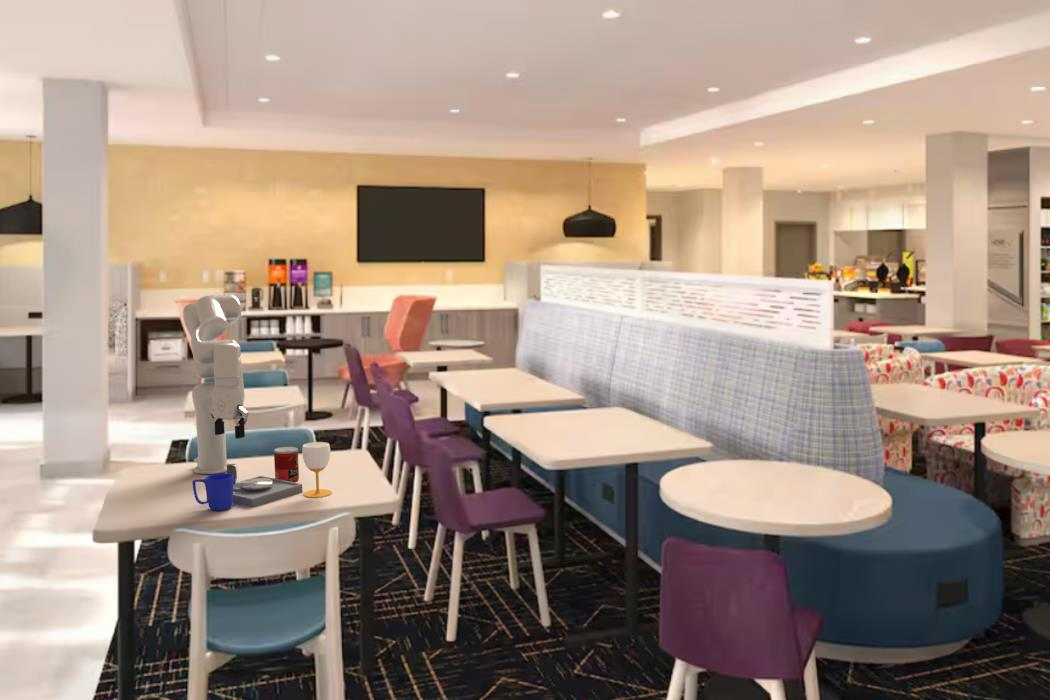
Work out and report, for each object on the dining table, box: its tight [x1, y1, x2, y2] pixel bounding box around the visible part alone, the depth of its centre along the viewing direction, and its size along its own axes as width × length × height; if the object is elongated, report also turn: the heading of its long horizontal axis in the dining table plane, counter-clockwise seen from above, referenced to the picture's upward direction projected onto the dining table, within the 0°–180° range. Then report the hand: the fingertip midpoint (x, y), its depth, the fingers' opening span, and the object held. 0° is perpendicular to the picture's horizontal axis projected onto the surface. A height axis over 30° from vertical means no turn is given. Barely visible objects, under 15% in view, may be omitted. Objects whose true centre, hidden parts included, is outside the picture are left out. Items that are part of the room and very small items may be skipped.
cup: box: [301, 441, 333, 499], centre depth 283 cm, size 9×9×16 cm
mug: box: [192, 472, 234, 512], centre depth 268 cm, size 8×12×10 cm
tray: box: [233, 475, 303, 508], centre depth 284 cm, size 20×20×3 cm
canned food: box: [273, 446, 300, 483], centre depth 300 cm, size 8×8×11 cm
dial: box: [226, 463, 273, 490], centre depth 283 cm, size 14×10×7 cm
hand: (229, 436), depth 278 cm, fingers open, 9 cm apart
